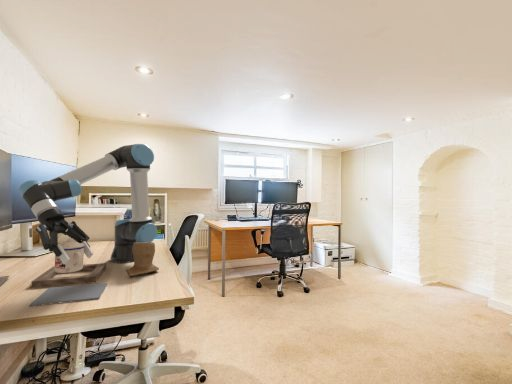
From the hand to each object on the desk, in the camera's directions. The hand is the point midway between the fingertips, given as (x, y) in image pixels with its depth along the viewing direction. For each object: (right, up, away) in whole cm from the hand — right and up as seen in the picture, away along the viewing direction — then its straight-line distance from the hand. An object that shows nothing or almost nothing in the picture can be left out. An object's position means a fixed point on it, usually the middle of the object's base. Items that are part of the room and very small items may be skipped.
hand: (79, 258), depth 95 cm
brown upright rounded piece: (+10, -14, +28) cm, 33 cm away
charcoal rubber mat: (-3, -13, +1) cm, 14 cm away
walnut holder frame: (-17, -13, +20) cm, 30 cm away
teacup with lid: (-3, -5, 0) cm, 6 cm away
